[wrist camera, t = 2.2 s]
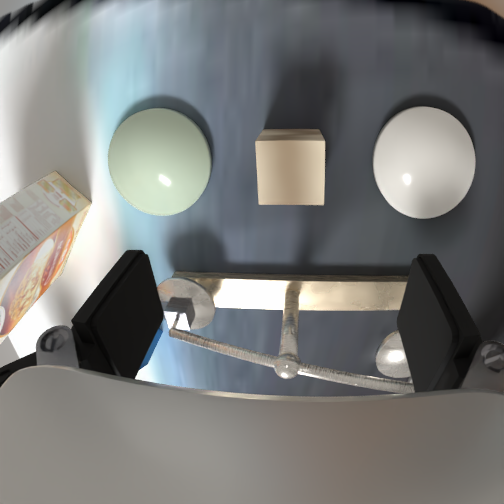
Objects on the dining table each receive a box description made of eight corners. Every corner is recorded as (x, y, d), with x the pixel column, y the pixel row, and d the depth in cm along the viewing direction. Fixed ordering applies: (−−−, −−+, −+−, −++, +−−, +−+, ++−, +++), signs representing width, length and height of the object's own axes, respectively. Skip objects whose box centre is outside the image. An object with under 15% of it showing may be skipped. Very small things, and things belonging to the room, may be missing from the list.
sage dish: (206, 101, 26) (203, 101, 25) (217, 210, 32) (214, 214, 31) (105, 117, 28) (100, 118, 27) (123, 213, 33) (119, 217, 32)
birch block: (319, 129, 26) (325, 141, 21) (318, 181, 29) (323, 205, 24) (263, 129, 27) (255, 141, 22) (265, 180, 29) (258, 204, 24)
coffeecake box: (62, 276, 40) (-17, 370, 23) (29, 246, 38) (-55, 329, 21) (94, 202, 33) (-23, 307, 16) (55, 168, 31) (-70, 250, 15)
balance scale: (424, 264, 31) (472, 363, 19) (411, 312, 35) (442, 410, 22) (160, 259, 36) (101, 351, 23) (171, 306, 39) (128, 398, 27)
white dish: (475, 115, 22) (480, 117, 21) (461, 217, 28) (465, 221, 27) (373, 99, 24) (376, 100, 23) (367, 212, 29) (369, 216, 29)
